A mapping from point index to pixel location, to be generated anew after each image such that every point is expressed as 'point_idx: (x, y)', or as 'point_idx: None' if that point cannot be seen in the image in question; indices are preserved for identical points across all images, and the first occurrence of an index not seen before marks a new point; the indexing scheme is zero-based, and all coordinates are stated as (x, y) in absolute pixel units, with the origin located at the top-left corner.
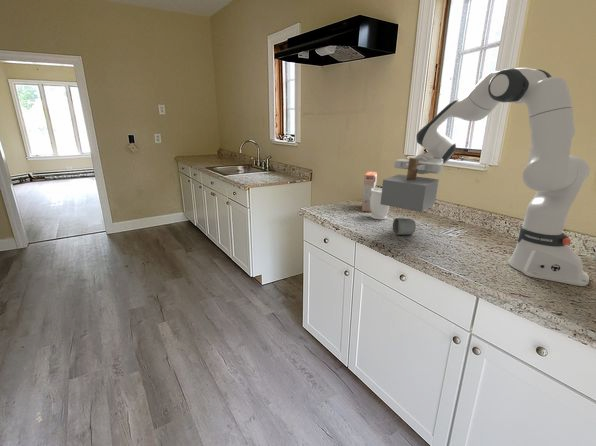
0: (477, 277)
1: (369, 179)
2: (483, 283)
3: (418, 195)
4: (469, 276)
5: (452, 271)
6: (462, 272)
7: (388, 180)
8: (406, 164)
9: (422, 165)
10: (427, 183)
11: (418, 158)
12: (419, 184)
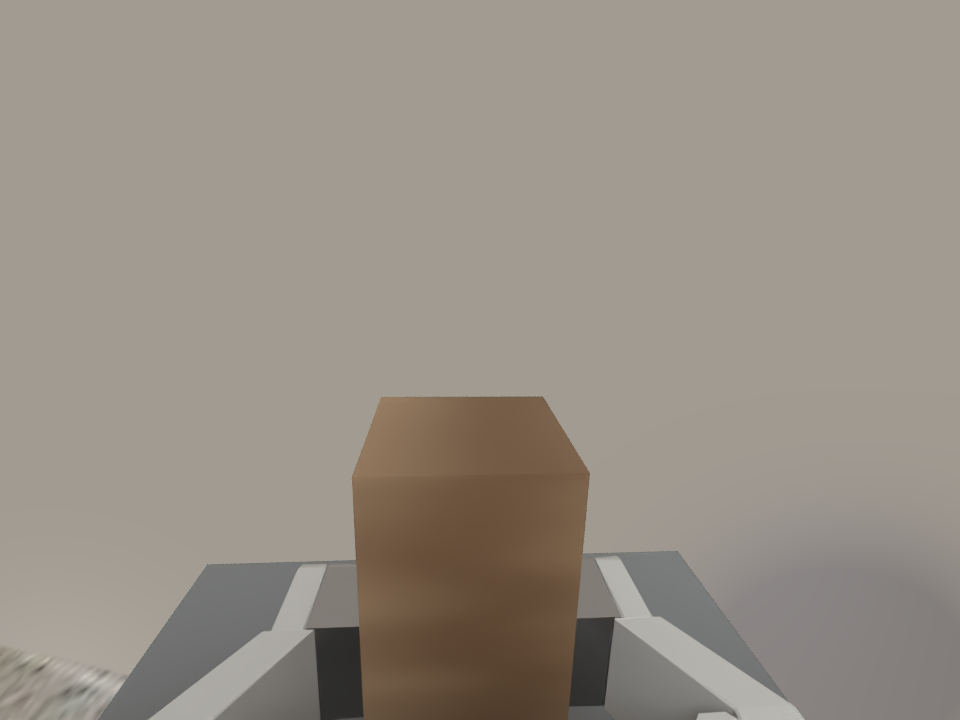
0: (4, 707)
1: None
2: (10, 670)
3: None
4: (44, 694)
5: (113, 695)
6: (61, 714)
7: (618, 554)
8: (616, 567)
9: (219, 668)
10: (156, 688)
11: (359, 460)
12: (278, 573)
